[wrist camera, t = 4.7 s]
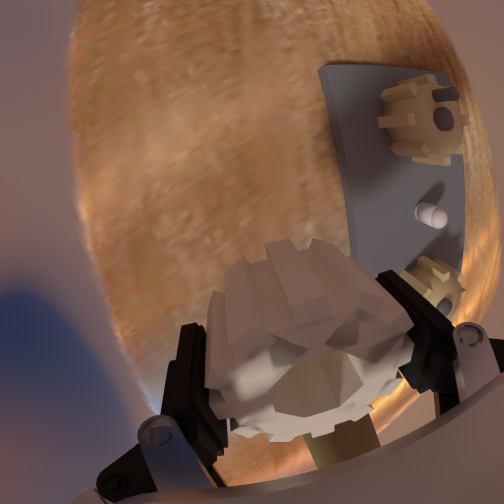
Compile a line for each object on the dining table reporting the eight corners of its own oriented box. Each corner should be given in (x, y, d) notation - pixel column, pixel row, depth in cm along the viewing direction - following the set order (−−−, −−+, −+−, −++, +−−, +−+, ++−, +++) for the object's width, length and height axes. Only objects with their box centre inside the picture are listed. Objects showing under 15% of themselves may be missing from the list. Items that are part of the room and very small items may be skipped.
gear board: (317, 70, 17) (360, 37, 10) (437, 75, 18) (490, 66, 11) (354, 340, 26) (386, 387, 19) (448, 299, 27) (486, 330, 20)
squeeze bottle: (353, 363, 28) (423, 490, 11) (355, 400, 31) (406, 506, 14) (286, 387, 28) (328, 531, 11) (298, 421, 31) (333, 535, 14)
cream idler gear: (184, 264, 10) (166, 333, 6) (362, 219, 10) (427, 261, 6) (233, 385, 12) (239, 453, 9) (364, 348, 12) (399, 405, 9)
